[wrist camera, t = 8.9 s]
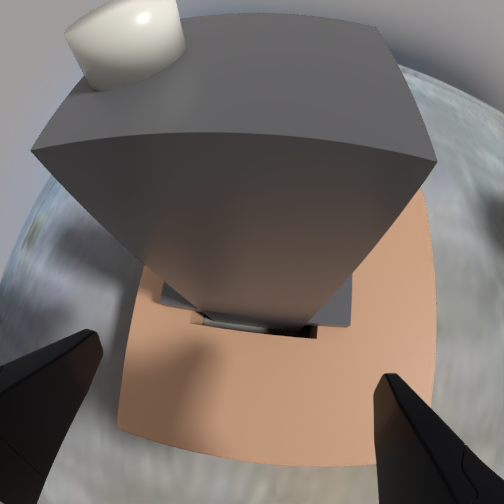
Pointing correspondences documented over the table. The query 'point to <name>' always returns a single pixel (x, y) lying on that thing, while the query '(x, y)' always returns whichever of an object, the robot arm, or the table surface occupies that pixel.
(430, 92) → the table surface
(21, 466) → the robot arm
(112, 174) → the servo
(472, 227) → the table surface
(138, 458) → the table surface
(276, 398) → the plate
